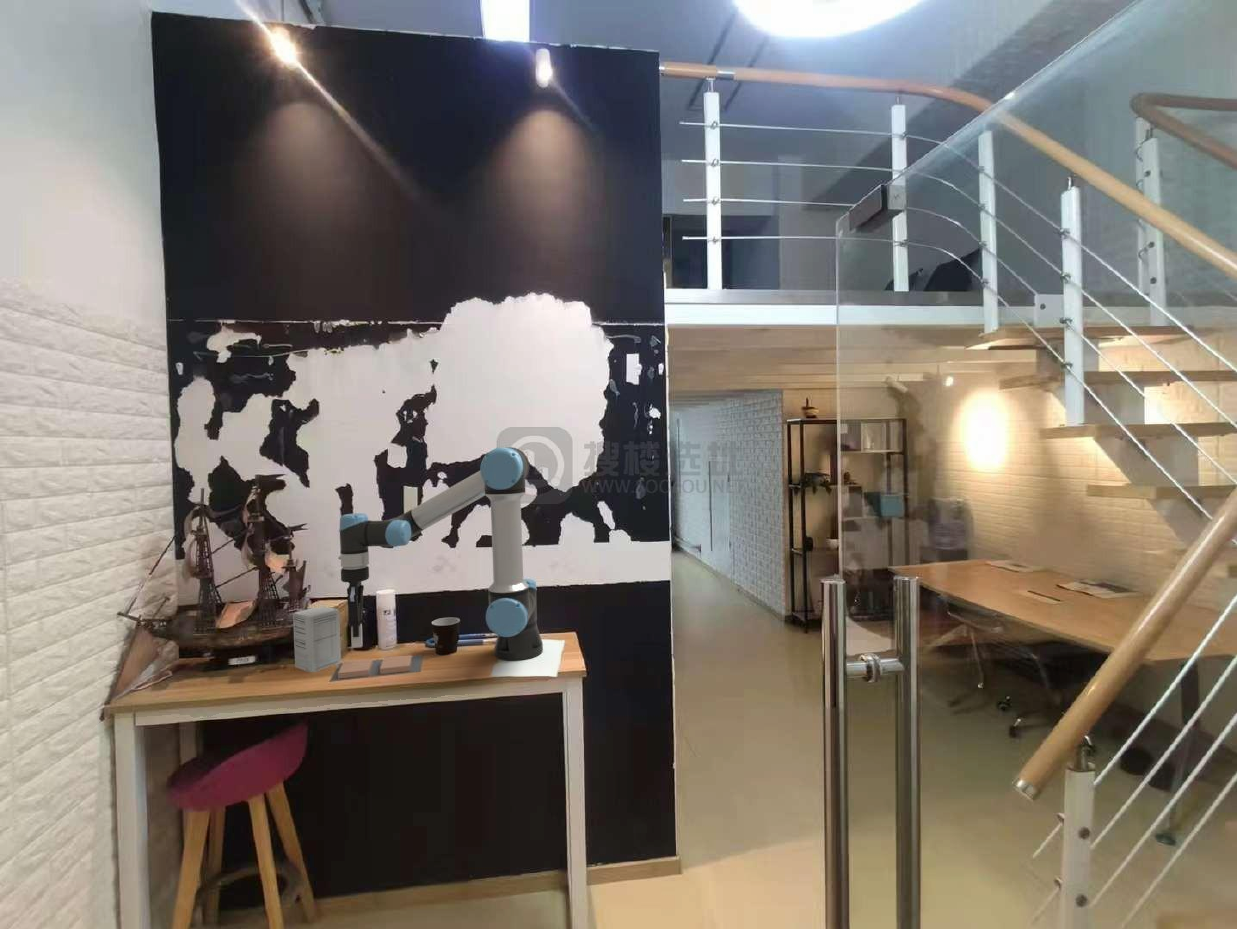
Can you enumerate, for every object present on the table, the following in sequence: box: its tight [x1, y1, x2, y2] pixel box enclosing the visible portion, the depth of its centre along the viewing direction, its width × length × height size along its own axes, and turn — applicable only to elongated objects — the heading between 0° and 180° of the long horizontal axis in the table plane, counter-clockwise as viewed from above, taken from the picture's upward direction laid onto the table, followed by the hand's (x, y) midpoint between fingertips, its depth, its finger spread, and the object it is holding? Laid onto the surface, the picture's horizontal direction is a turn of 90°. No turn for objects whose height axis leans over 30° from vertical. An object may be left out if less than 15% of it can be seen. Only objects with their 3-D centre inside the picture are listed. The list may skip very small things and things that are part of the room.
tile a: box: [380, 654, 413, 674], centre depth 173 cm, size 8×2×9 cm
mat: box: [329, 654, 424, 682], centre depth 173 cm, size 24×14×1 cm, turn 105°
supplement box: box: [292, 605, 342, 674], centre depth 175 cm, size 10×9×17 cm
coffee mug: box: [431, 616, 461, 656], centre depth 184 cm, size 12×9×10 cm
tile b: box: [338, 658, 374, 679], centre depth 170 cm, size 8×2×9 cm
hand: (357, 646), depth 172 cm, fingers closed
